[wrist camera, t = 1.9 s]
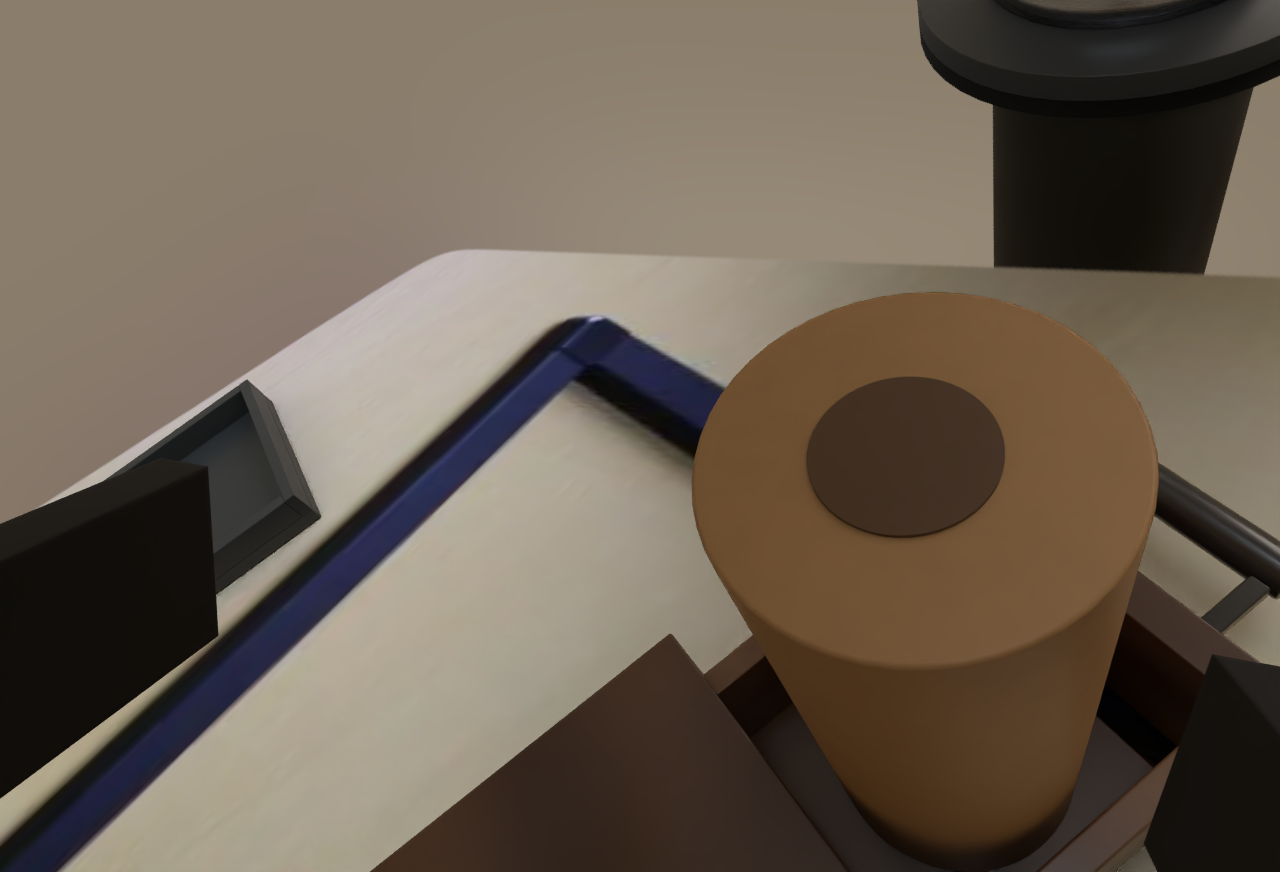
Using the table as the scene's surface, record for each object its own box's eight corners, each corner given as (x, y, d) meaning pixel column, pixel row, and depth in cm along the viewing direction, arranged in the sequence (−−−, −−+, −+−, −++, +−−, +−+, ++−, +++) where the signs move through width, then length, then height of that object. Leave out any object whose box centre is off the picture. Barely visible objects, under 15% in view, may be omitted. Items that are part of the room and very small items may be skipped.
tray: (272, 401, 51) (246, 379, 50) (321, 516, 44) (293, 494, 42) (59, 554, 50) (25, 535, 48) (74, 698, 43) (35, 683, 41)
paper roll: (949, 600, 29) (910, 231, 16) (1131, 768, 24) (1282, 445, 11) (793, 730, 28) (615, 455, 15) (949, 927, 24) (889, 778, 11)
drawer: (1050, 456, 32) (1058, 361, 27) (1370, 681, 24) (1451, 601, 20) (707, 736, 30) (657, 682, 26) (942, 1067, 23) (928, 1071, 18)
